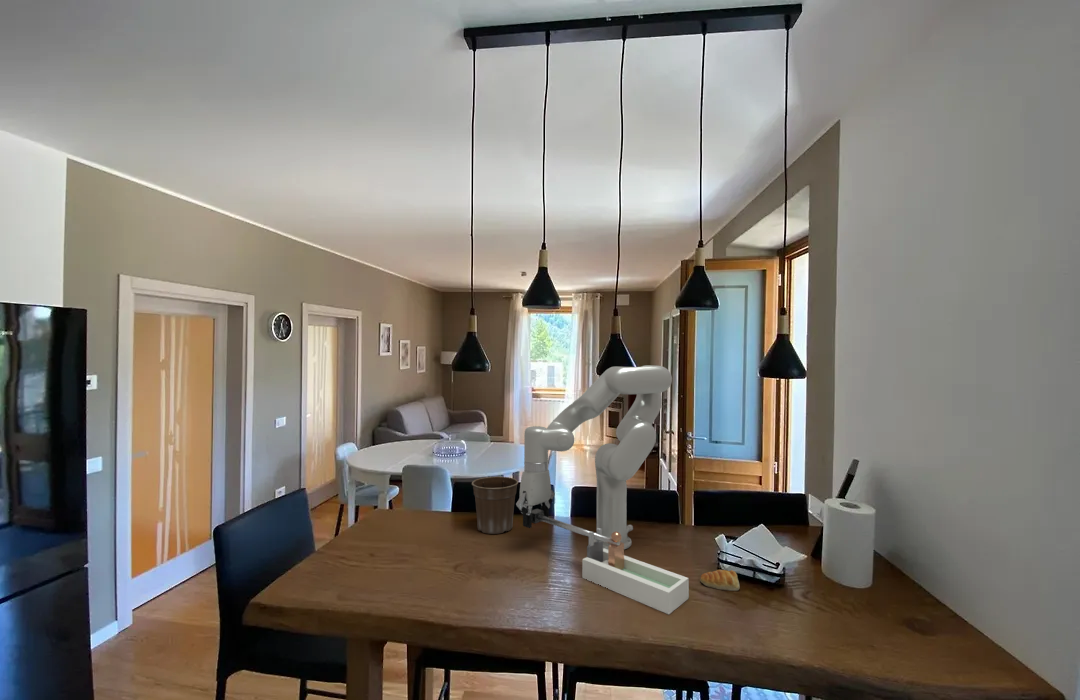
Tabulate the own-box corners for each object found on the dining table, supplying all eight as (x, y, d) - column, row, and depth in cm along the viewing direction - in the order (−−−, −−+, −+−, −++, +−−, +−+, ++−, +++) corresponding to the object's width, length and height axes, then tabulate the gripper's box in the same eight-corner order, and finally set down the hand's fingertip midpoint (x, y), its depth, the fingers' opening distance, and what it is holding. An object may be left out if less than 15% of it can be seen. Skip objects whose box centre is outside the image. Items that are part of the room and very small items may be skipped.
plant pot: (472, 520, 167) (472, 476, 168) (516, 519, 169) (516, 475, 169) (470, 537, 151) (470, 488, 151) (519, 536, 153) (519, 487, 153)
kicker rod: (537, 535, 145) (537, 503, 146) (625, 568, 123) (625, 530, 123) (527, 539, 142) (527, 506, 143) (615, 573, 120) (615, 535, 120)
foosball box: (604, 565, 131) (604, 525, 131) (688, 598, 113) (688, 551, 113) (582, 577, 124) (582, 534, 124) (668, 614, 106) (668, 564, 106)
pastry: (703, 590, 118) (703, 575, 118) (697, 578, 124) (697, 564, 124) (741, 592, 117) (741, 577, 117) (733, 580, 123) (733, 565, 123)
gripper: (546, 460, 152) (546, 514, 152) (507, 469, 140) (507, 528, 139) (563, 464, 147) (563, 519, 147) (524, 473, 134) (524, 534, 134)
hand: (535, 523), depth 143 cm, fingers open, 7 cm apart
